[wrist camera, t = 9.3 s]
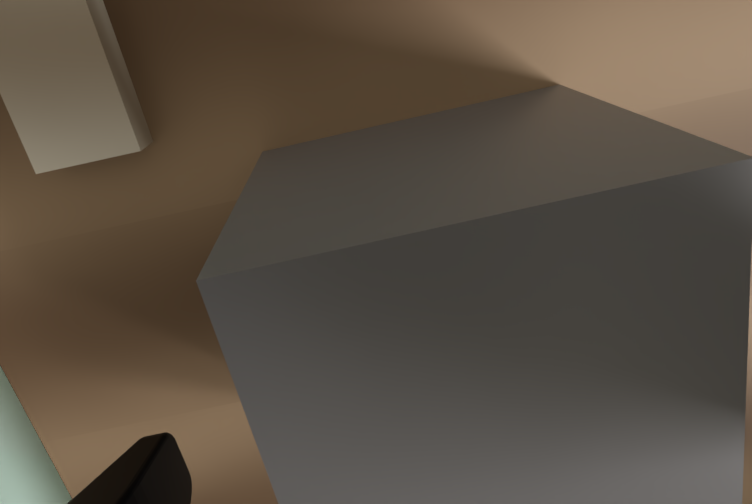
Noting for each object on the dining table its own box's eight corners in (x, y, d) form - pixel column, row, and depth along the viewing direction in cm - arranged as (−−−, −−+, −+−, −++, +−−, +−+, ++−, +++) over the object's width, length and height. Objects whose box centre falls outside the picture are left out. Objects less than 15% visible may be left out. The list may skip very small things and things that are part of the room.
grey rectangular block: (550, 306, 17) (739, 580, 9) (337, 352, 17) (336, 660, 9) (523, 71, 14) (754, 157, 6) (274, 127, 14) (195, 280, 6)
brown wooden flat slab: (775, 438, 19) (871, 534, 16) (178, 558, 20) (144, 676, 17) (830, -358, 12) (1039, -511, 8) (-145, -128, 12) (-338, -179, 9)
